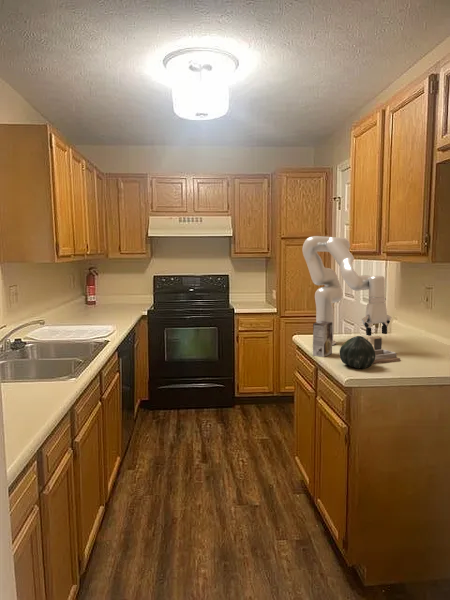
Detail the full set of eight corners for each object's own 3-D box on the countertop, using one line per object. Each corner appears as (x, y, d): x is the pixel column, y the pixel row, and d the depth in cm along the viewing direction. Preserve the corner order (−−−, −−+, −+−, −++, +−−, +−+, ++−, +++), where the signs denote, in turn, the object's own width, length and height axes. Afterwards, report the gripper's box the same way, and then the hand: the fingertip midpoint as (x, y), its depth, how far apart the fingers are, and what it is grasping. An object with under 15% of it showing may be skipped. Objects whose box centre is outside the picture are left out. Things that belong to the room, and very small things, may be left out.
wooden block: (368, 351, 216) (368, 336, 215) (375, 351, 218) (376, 335, 217) (373, 353, 212) (374, 338, 211) (381, 352, 214) (382, 337, 213)
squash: (350, 348, 200) (343, 327, 191) (382, 354, 191) (376, 332, 182) (339, 372, 193) (331, 352, 184) (372, 379, 184) (365, 359, 175)
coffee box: (320, 352, 217) (321, 320, 215) (332, 353, 213) (333, 321, 211) (312, 355, 210) (312, 323, 208) (324, 357, 206) (324, 324, 204)
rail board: (353, 357, 204) (354, 345, 204) (380, 354, 210) (381, 342, 209) (372, 364, 192) (372, 350, 191) (400, 360, 198) (400, 347, 197)
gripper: (385, 299, 219) (385, 332, 220) (357, 301, 213) (357, 334, 214) (395, 300, 212) (395, 334, 213) (367, 302, 206) (367, 337, 207)
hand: (376, 334), depth 214 cm, fingers open, 9 cm apart
